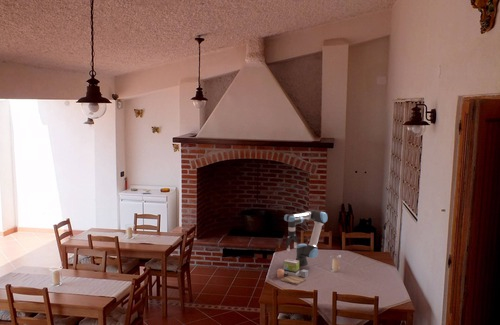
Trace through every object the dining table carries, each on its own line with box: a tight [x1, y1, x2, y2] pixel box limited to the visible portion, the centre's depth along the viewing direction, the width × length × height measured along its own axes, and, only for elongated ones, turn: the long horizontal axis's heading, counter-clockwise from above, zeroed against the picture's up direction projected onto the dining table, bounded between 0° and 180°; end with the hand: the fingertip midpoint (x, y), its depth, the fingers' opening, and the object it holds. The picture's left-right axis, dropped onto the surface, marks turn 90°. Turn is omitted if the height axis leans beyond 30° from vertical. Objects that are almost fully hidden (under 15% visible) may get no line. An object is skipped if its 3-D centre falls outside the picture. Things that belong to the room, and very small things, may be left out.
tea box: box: [283, 258, 300, 277], centre depth 487 cm, size 15×10×15 cm
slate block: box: [300, 269, 309, 278], centre depth 481 cm, size 6×6×6 cm
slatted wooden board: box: [280, 275, 307, 286], centre depth 468 cm, size 16×20×2 cm
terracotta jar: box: [276, 268, 285, 280], centre depth 477 cm, size 7×7×8 cm
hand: (291, 249), depth 485 cm, fingers open, 13 cm apart
